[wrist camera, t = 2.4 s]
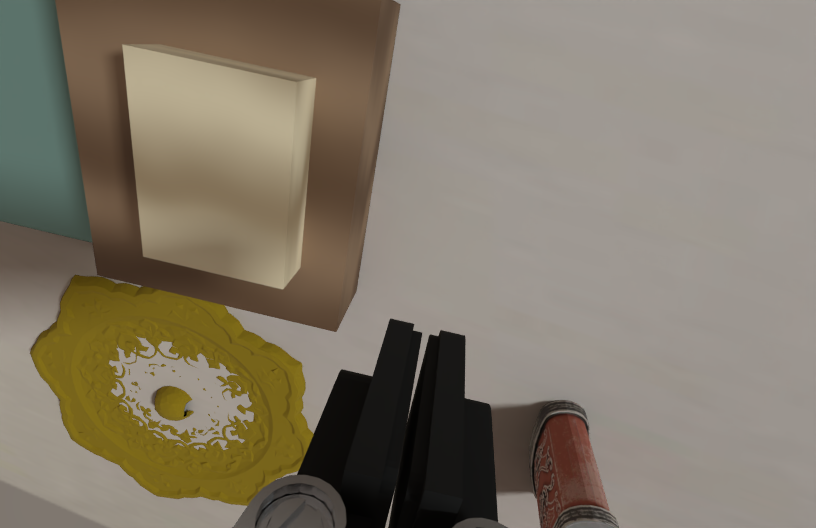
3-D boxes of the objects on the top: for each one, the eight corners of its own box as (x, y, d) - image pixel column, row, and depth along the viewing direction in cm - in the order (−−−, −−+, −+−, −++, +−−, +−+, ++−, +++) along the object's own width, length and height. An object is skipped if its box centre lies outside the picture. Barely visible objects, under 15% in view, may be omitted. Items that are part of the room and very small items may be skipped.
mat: (-185, -130, 19) (-204, -136, 19) (123, -67, 19) (113, -71, 18) (-77, 196, 26) (-89, 199, 26) (151, 250, 26) (144, 254, 25)
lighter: (577, 496, 30) (620, 691, 21) (524, 491, 30) (544, 679, 21) (595, 402, 26) (656, 588, 17) (534, 398, 26) (563, 577, 18)
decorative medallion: (294, 279, 26) (284, 292, 24) (330, 506, 34) (324, 524, 33) (-2, 267, 28) (-25, 278, 27) (100, 480, 37) (86, 496, 36)
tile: (160, 44, 17) (122, 44, 15) (316, 77, 16) (296, 82, 15) (172, 237, 20) (143, 256, 19) (300, 267, 20) (282, 289, 18)
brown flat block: (124, -53, 19) (43, -75, 15) (400, 4, 19) (382, -5, 15) (150, 242, 25) (97, 274, 22) (356, 290, 25) (336, 331, 21)
